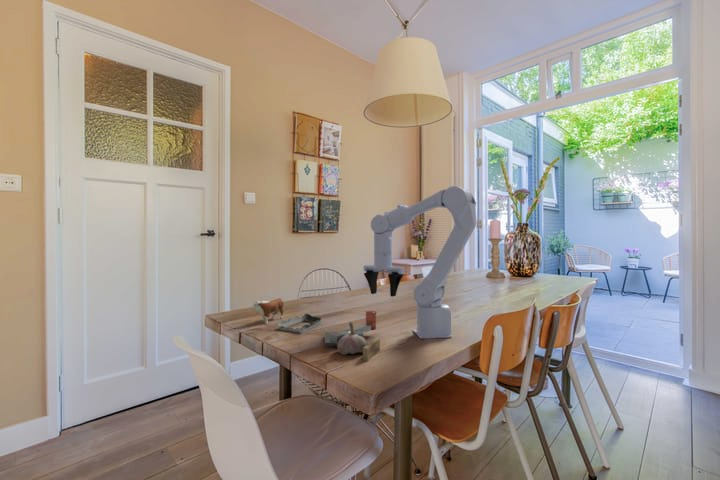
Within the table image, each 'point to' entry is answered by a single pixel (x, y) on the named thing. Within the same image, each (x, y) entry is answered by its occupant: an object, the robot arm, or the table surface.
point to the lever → (356, 328)
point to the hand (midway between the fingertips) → (383, 294)
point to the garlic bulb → (351, 342)
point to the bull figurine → (269, 308)
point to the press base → (330, 344)
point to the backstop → (371, 349)
